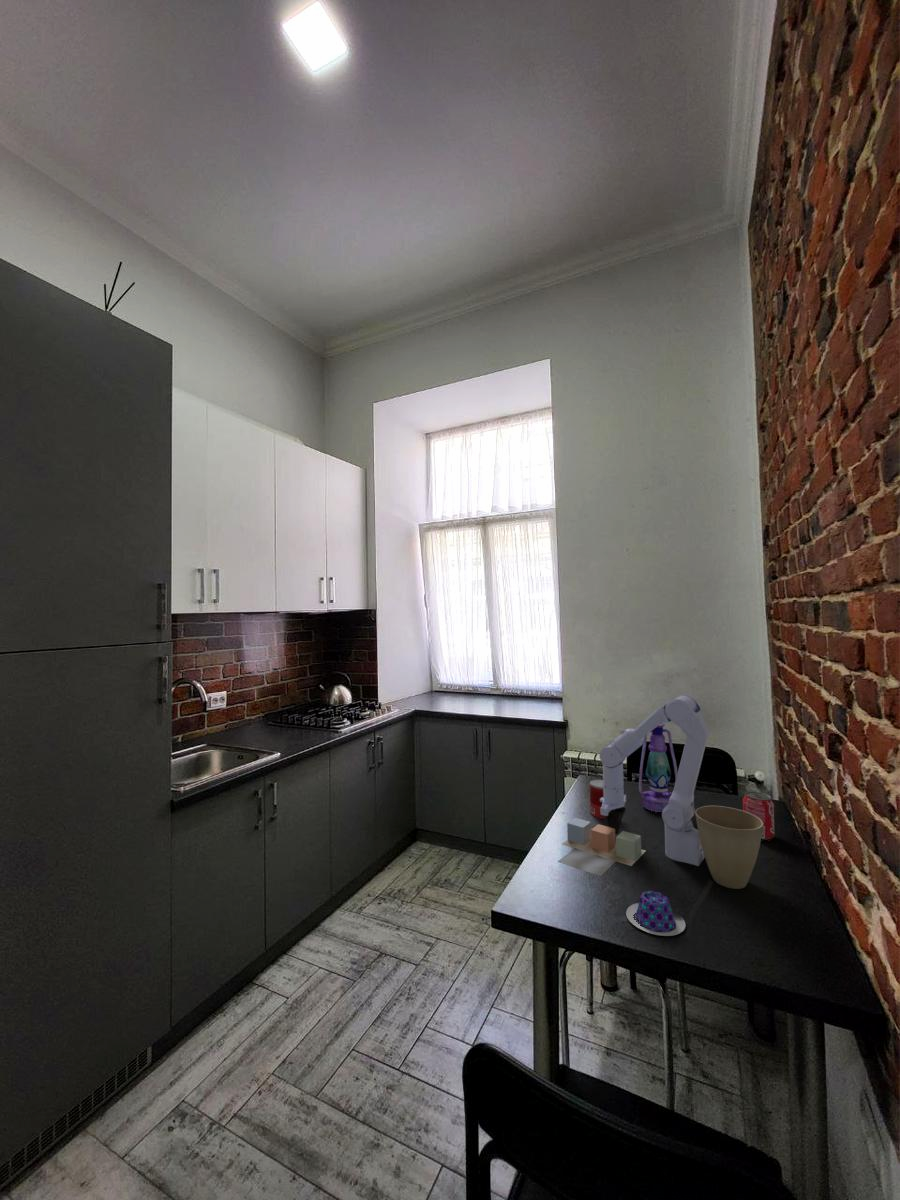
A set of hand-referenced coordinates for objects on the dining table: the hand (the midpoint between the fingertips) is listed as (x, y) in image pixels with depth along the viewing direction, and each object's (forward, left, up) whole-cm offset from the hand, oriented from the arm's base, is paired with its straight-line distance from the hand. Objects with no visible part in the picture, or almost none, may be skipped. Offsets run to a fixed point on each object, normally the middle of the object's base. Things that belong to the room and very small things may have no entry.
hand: (614, 832), depth 147 cm
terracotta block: (0, +8, -1) cm, 8 cm away
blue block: (+7, +8, -1) cm, 11 cm away
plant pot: (-31, +3, -3) cm, 31 cm away
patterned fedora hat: (-22, +31, -3) cm, 38 cm away
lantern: (-2, -34, -3) cm, 34 cm away
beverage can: (-32, -31, -3) cm, 44 cm away
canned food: (+10, -15, -3) cm, 18 cm away
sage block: (-7, +8, -1) cm, 11 cm away
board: (0, +12, -2) cm, 13 cm away
